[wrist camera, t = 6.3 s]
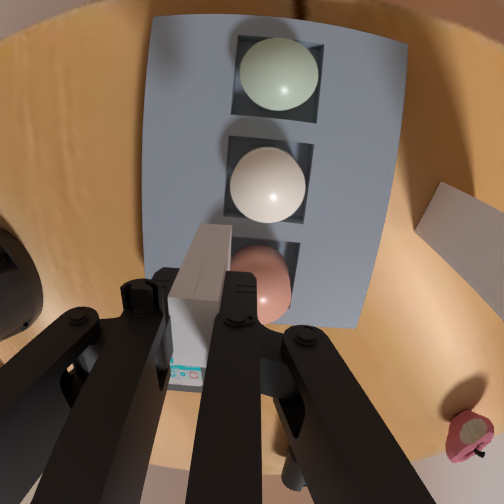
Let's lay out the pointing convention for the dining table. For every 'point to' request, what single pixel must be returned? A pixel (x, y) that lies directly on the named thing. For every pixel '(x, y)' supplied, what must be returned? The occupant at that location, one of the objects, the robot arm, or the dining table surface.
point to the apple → (468, 436)
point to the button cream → (267, 184)
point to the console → (276, 134)
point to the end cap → (292, 473)
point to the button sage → (278, 74)
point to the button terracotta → (266, 279)
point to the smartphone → (186, 378)
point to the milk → (468, 240)
